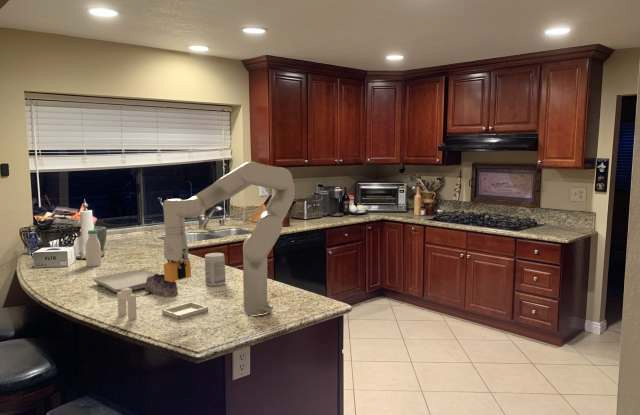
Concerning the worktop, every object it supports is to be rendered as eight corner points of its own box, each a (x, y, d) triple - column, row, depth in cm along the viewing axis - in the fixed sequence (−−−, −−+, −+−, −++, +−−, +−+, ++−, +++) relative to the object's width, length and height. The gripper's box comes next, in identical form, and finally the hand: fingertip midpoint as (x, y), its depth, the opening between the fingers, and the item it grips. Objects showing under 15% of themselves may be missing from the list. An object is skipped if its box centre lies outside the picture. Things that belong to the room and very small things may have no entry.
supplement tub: (226, 281, 244) (226, 252, 242) (223, 286, 235) (223, 256, 233) (207, 281, 244) (206, 252, 242) (203, 286, 234) (202, 256, 233)
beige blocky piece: (136, 318, 185) (135, 290, 183) (129, 320, 182) (128, 291, 181) (124, 313, 190) (123, 286, 189) (118, 315, 188) (117, 287, 186)
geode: (188, 296, 218) (185, 275, 216) (164, 305, 211) (161, 283, 208) (166, 285, 233) (163, 266, 230) (143, 293, 225) (139, 273, 223)
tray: (208, 311, 194) (208, 306, 194) (178, 320, 183) (178, 315, 183) (191, 306, 200) (191, 301, 200) (162, 314, 190) (162, 309, 190)
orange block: (191, 276, 193) (190, 260, 192) (171, 282, 186) (170, 265, 186) (184, 275, 196) (183, 259, 195) (164, 280, 189) (163, 263, 188)
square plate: (90, 285, 236) (90, 277, 236) (144, 275, 256) (144, 268, 256) (116, 296, 218) (115, 288, 217) (171, 285, 238) (171, 277, 237)
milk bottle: (104, 265, 277) (102, 230, 275) (91, 267, 271) (90, 231, 269) (96, 263, 281) (94, 228, 279) (83, 265, 275) (81, 230, 273)
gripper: (154, 230, 191) (157, 276, 194) (179, 234, 181) (182, 282, 183) (171, 227, 197) (173, 272, 199) (196, 231, 186) (199, 278, 189)
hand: (178, 276), depth 191 cm, fingers closed on orange block, 4 cm apart
